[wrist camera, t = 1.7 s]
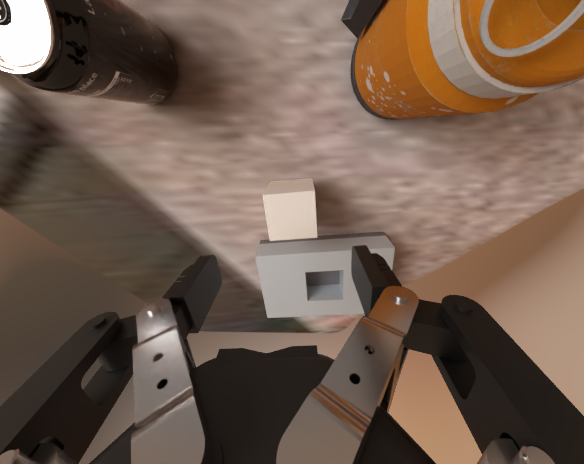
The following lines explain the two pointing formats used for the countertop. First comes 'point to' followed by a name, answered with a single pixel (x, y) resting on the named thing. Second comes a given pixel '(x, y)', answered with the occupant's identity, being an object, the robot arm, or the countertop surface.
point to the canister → (461, 53)
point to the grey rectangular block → (314, 274)
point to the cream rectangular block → (290, 209)
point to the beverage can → (86, 49)
